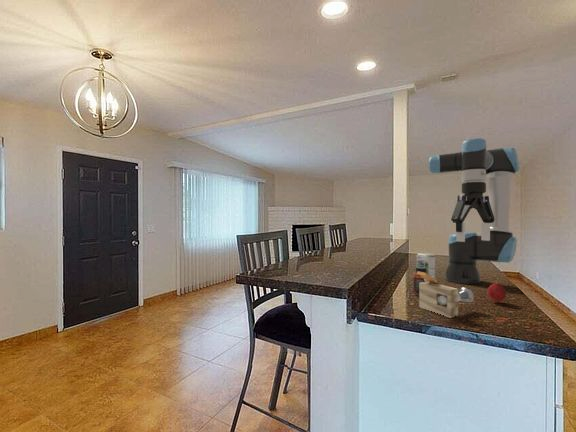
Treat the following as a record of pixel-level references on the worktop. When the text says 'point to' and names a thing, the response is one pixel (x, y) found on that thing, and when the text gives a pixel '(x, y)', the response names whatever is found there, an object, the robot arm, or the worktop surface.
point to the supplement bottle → (418, 279)
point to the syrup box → (427, 263)
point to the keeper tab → (427, 277)
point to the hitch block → (430, 298)
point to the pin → (459, 296)
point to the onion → (496, 292)
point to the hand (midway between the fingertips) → (473, 241)
